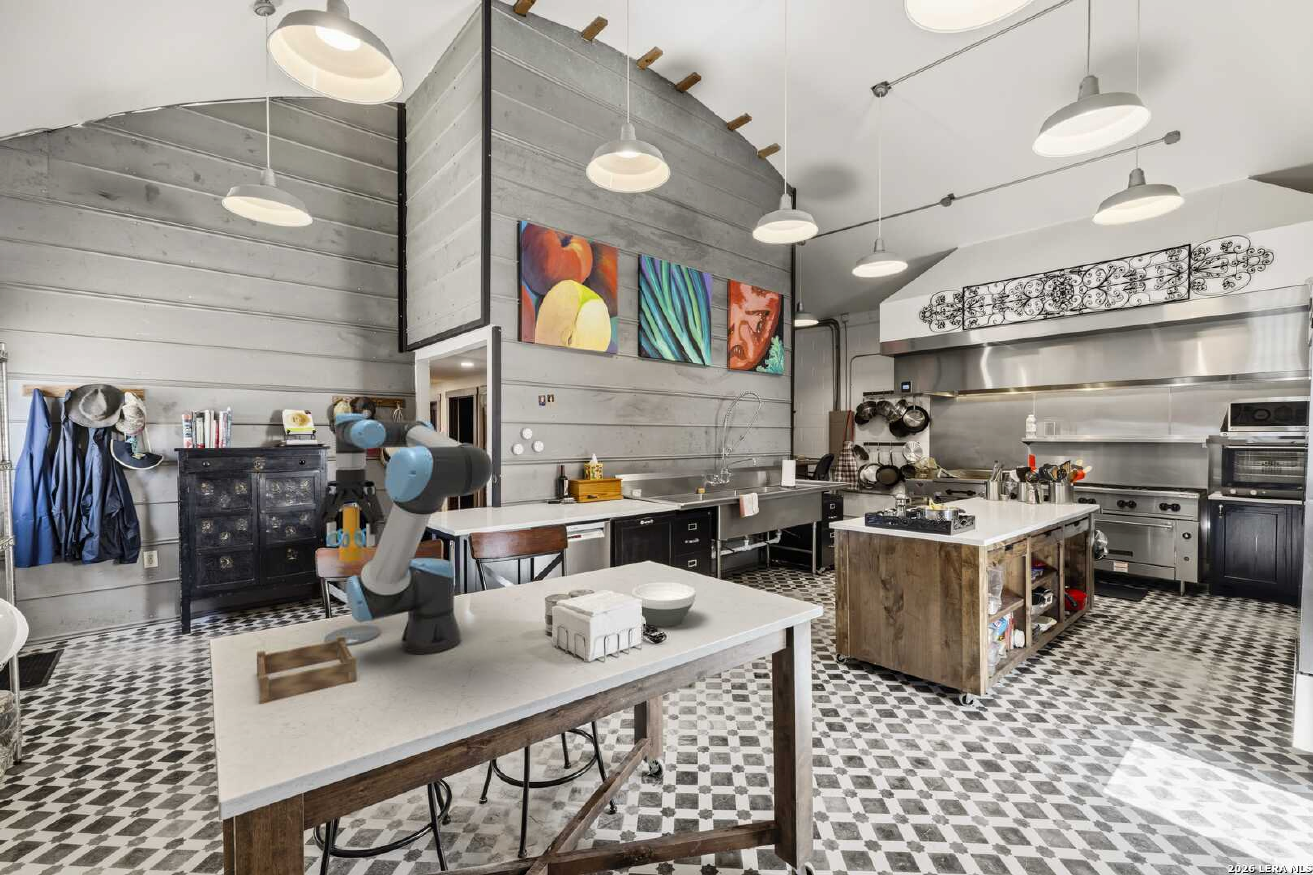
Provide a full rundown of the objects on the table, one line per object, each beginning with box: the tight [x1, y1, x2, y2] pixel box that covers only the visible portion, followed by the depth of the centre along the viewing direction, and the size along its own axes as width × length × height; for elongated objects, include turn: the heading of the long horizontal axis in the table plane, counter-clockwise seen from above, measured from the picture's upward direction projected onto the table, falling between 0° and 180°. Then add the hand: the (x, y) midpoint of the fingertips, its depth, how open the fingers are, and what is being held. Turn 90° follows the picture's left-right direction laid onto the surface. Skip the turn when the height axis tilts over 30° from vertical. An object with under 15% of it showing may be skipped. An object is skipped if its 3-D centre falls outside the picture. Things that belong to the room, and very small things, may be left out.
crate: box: [256, 635, 357, 705], centre depth 132 cm, size 18×18×5 cm
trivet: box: [324, 625, 381, 647], centre depth 159 cm, size 14×14×1 cm
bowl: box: [631, 582, 697, 628], centre depth 172 cm, size 20×20×10 cm
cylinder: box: [326, 506, 366, 563], centre depth 158 cm, size 12×10×15 cm
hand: (351, 545), depth 158 cm, fingers closed on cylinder, 11 cm apart
